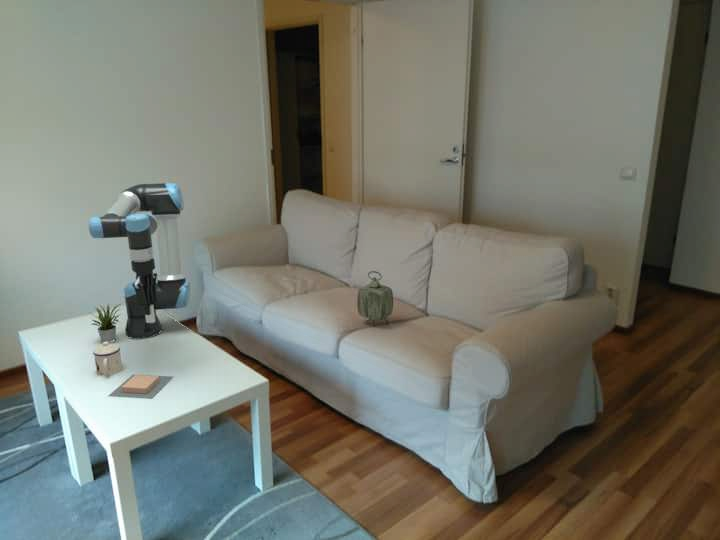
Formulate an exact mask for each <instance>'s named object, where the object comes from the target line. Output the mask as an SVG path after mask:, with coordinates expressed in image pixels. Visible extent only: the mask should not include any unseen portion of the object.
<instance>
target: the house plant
mask: <svg viewBox="0 0 720 540" xmlns="http://www.w3.org/2000/svg"><path fill="white" fill-rule="evenodd" d="M120 305H122V303H120V304H117V305H115V306H114V307H113V308H112V310H111V309H110V304H109V303H108V304H107V306H106V310H105V308H104V307H103V306H102V305H101V304H99V306H100V308H101V309H102V310H100V309H99V308H98V307H96V306H95V307H94V309H95V311H96V312H97V314H98V315H95V314H93V313H91V312H88V314H91V315H92V316H94V317H95V318H96V319H98V320H95V319H91V321H93V322H94V323H93V322H92V323H91V324H90V326H91V325H93V326H97V327H98V328H97V332H98V335H99V337H100V340H101V343H102V342H111V341H113V340H115V339H117V338H116V333H117V326H116V325H117V323H119V319H117V318H119V316H120V315H122V314H121V313H120V314H118V315H116V314H117V312H119V311H120V308H119V309H117V310H116V308H118V307H119V306H120ZM110 310H111V311H110ZM102 311H103V313H102ZM115 341H116V340H115Z"/></svg>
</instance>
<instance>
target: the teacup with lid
mask: <svg viewBox="0 0 720 540" xmlns="http://www.w3.org/2000/svg"><path fill="white" fill-rule="evenodd" d="M92 352H93V353H92V355H94V361H95V368H96V373H97V374H98V376H103V377H104V376H105V377H106V376H111V375H116V374H118V373H119V372H121V371H122V370H123V364H122V358H121V356H122V355H121V347H120V345H119V344H115V343H109V342H103V343H102V344H101V345H98V346H97V347H95V348H94V350H93V351H92Z"/></svg>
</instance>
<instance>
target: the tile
mask: <svg viewBox="0 0 720 540" xmlns="http://www.w3.org/2000/svg"><path fill="white" fill-rule="evenodd" d="M147 375H148V374H135V376H133V377H132V378H131V379H130V380H129V381H128V382H127V383H125V384H124V385H123V386H122V387H121V388H122V392H126V393H143V394H147V393H148V392H149V391H150V390H151V389H152V388H153V387H154V386H155V385H156V384H157V383H158V382H159V381H160V380H159V376H160V375H154V376H147Z"/></svg>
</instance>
